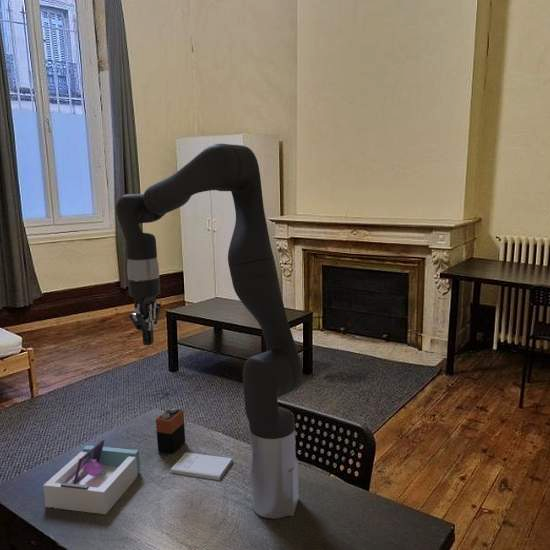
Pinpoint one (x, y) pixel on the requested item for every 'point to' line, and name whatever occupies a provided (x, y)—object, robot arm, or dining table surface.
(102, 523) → the dining table surface
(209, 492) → the dining table surface
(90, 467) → the purple toy kit
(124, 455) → the drawer
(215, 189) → the robot arm
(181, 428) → the battery
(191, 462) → the external hard drive
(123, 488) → the open box
